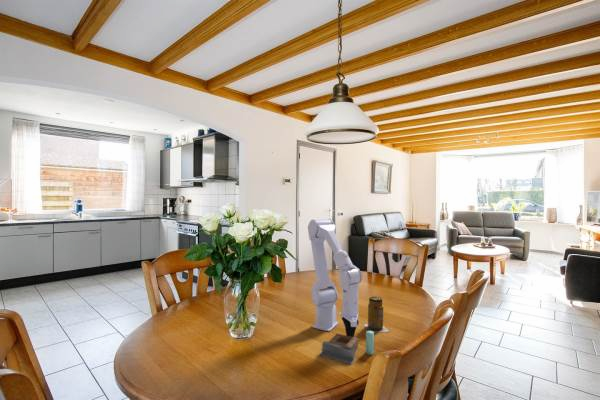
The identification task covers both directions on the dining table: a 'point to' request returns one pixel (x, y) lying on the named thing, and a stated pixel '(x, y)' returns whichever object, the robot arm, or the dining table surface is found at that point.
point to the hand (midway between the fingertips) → (350, 338)
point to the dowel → (369, 342)
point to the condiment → (375, 315)
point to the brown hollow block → (345, 341)
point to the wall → (338, 352)
